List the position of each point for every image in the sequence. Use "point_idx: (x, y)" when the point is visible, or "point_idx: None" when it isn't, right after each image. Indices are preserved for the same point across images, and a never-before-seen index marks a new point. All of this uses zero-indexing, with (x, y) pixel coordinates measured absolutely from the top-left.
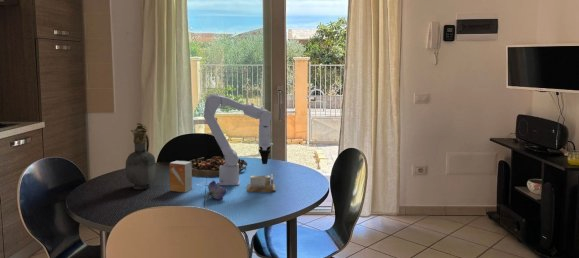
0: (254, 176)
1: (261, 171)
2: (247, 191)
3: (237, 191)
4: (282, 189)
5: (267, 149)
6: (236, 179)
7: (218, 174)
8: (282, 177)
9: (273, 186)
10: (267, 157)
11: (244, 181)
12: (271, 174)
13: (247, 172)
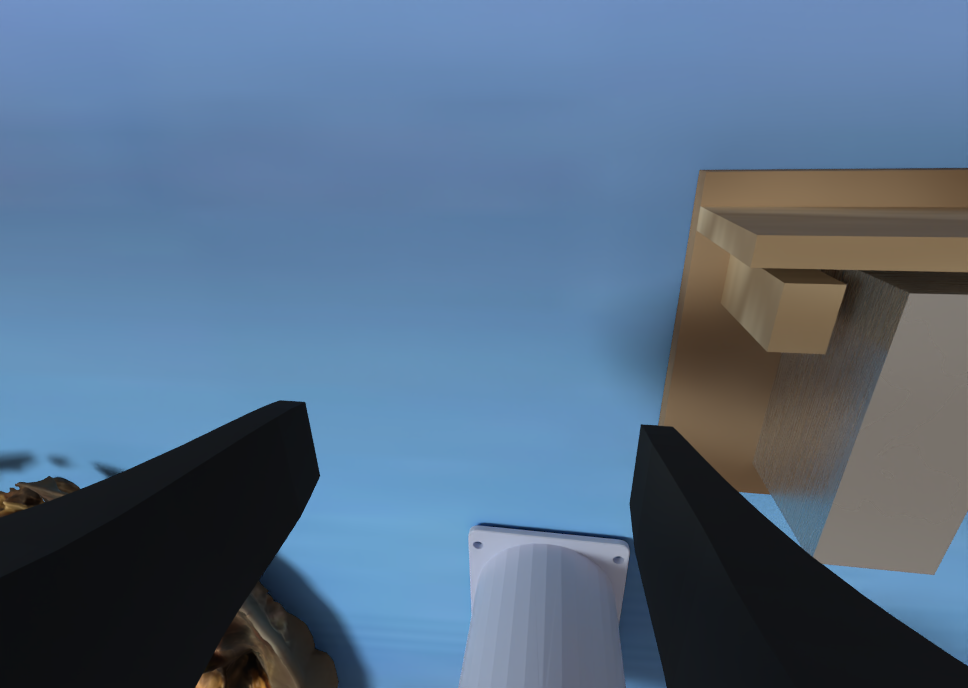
0: (885, 524)
1: (33, 323)
2: None
3: None
4: (958, 49)
5: (10, 659)
6: (599, 599)
7: (306, 655)
8: (231, 56)
9: (850, 198)
10: (797, 564)
11: (468, 489)
12: (815, 263)
13: (123, 449)
